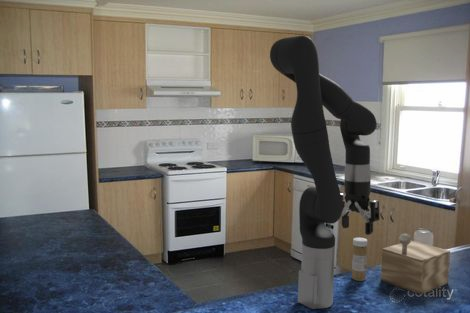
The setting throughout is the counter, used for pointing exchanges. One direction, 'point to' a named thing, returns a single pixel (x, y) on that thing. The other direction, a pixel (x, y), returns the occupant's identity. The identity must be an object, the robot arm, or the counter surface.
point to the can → (424, 236)
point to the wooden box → (415, 272)
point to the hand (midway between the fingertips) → (356, 230)
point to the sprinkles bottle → (359, 259)
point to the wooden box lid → (415, 249)
